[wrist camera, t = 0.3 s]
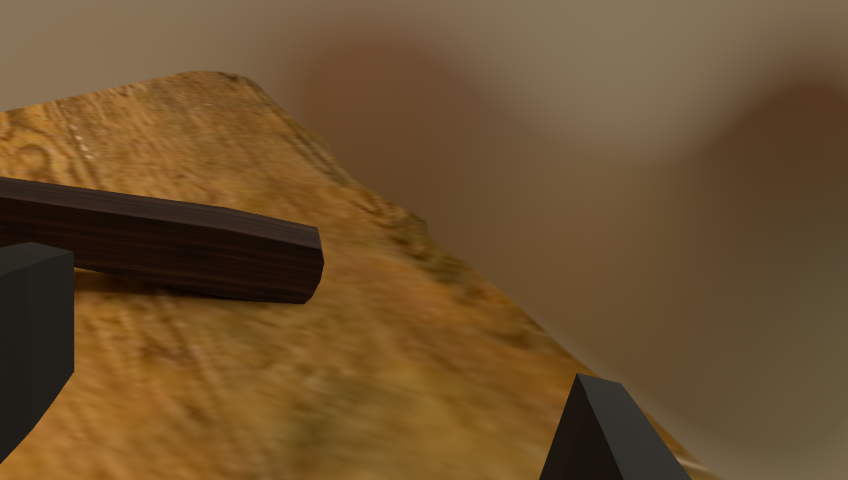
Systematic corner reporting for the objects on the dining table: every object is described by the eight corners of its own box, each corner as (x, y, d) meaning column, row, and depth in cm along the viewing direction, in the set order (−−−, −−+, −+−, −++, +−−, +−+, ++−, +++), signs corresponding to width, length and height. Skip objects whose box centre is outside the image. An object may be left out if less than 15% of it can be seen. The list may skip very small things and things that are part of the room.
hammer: (295, 315, 53) (-202, 239, 43) (337, 179, 48) (-210, 58, 38) (299, 357, 49) (-249, 283, 39) (345, 213, 44) (-265, 88, 34)
